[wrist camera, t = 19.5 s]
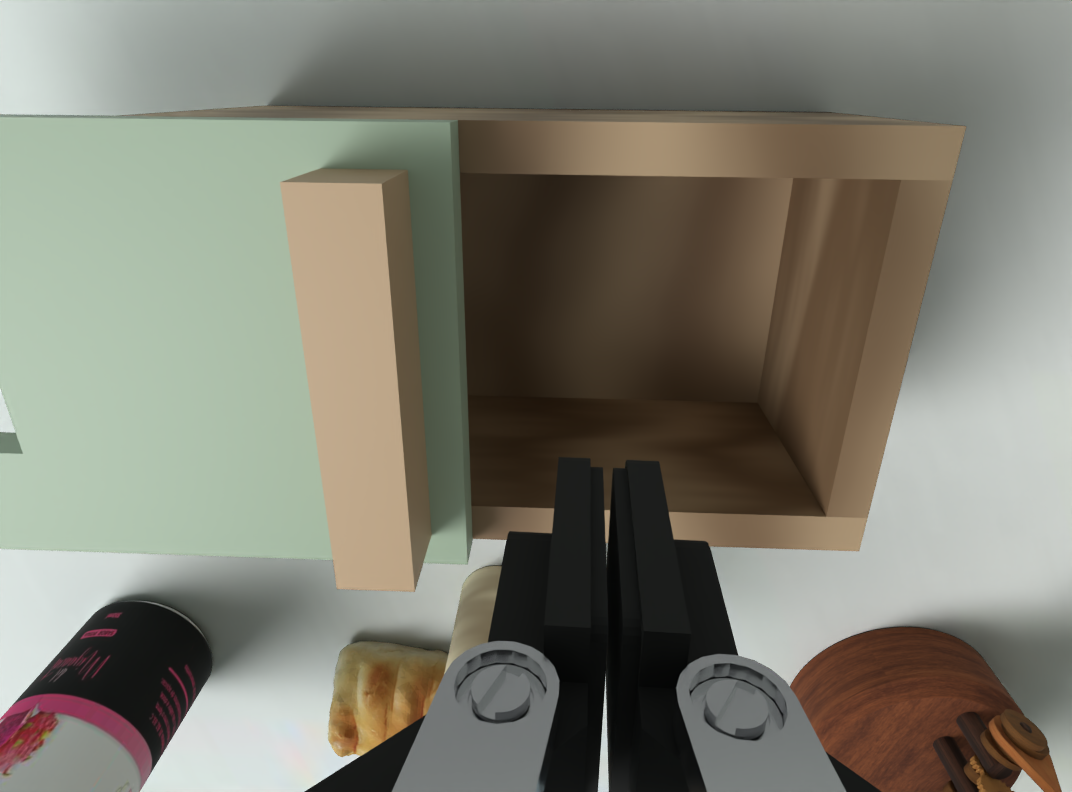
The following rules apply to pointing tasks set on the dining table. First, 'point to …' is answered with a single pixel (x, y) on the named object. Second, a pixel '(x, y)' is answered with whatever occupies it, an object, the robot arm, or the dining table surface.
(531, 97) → the dining table surface
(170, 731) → the beverage can
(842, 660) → the music box
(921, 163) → the wooden box
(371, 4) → the dining table surface
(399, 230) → the green box lid
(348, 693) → the pastry
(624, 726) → the robot arm
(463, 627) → the pin
